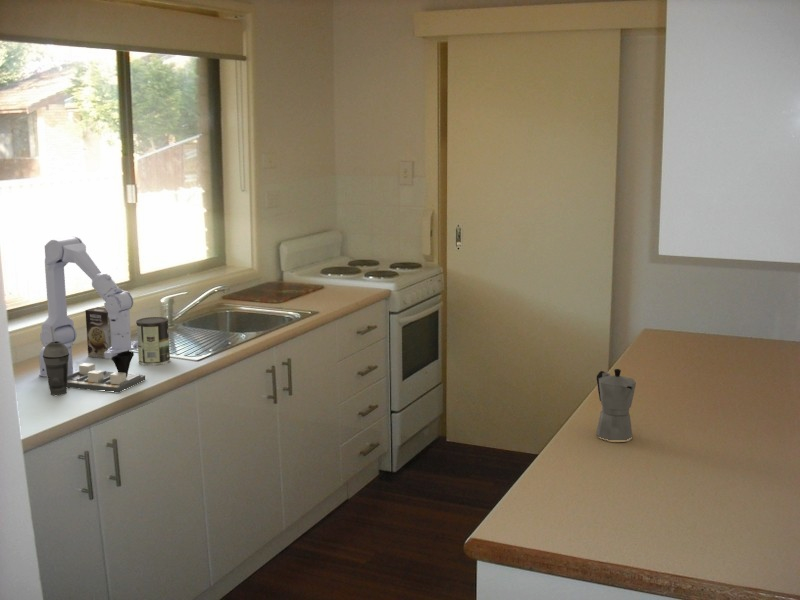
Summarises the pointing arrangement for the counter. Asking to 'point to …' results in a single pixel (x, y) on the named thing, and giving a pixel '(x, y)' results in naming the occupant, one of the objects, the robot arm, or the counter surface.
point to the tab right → (117, 377)
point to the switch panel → (102, 382)
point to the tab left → (86, 368)
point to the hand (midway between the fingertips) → (123, 376)
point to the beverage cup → (56, 366)
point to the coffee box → (98, 332)
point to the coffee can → (153, 341)
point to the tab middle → (95, 376)
